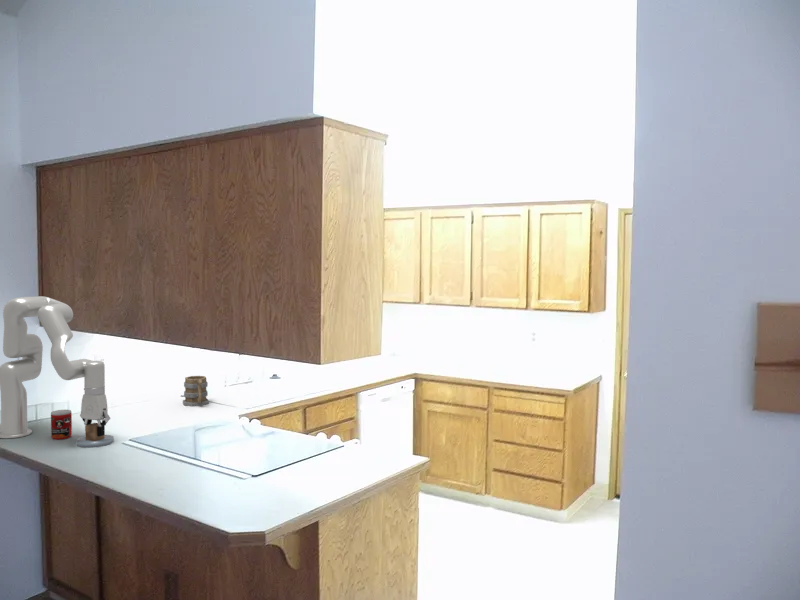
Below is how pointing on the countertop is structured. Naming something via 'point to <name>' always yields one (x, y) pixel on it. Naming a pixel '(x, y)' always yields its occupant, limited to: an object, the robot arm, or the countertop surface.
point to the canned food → (61, 424)
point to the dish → (94, 442)
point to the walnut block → (92, 432)
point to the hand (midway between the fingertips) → (95, 434)
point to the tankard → (195, 391)
